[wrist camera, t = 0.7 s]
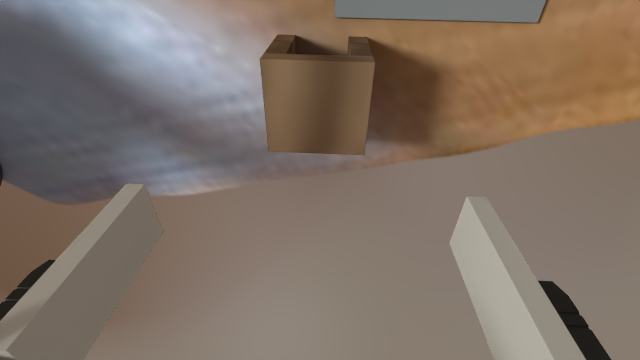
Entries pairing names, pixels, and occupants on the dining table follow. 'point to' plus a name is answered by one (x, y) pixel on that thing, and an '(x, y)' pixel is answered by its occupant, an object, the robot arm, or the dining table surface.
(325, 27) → the dining table surface
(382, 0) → the mat
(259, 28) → the dining table surface
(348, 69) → the notched open box
